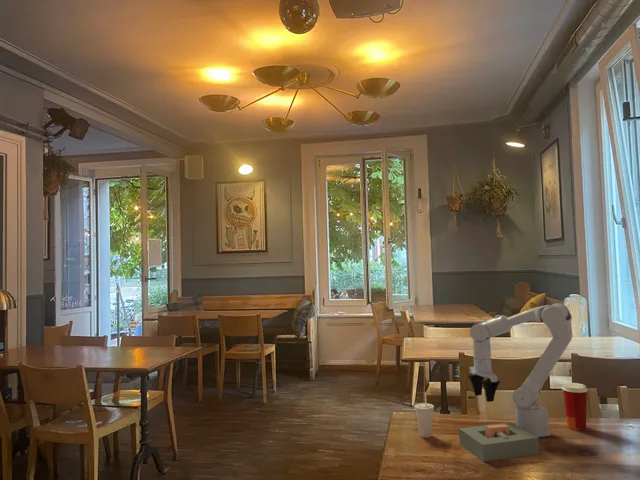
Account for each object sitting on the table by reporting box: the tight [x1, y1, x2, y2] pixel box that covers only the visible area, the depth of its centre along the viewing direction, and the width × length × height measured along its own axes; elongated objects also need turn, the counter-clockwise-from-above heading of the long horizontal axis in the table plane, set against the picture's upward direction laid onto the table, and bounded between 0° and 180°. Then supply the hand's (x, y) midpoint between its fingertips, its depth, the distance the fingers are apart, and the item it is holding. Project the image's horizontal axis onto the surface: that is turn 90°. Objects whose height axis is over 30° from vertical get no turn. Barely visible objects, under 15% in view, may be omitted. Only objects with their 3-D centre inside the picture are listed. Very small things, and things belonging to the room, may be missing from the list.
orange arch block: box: [485, 424, 510, 438], centre depth 153 cm, size 6×3×6 cm, turn 103°
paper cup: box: [561, 382, 588, 432], centre depth 168 cm, size 8×8×14 cm
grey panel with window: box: [458, 421, 540, 463], centre depth 153 cm, size 18×14×6 cm
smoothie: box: [414, 392, 435, 439], centre depth 166 cm, size 6×6×14 cm
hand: (484, 398), depth 173 cm, fingers open, 7 cm apart
